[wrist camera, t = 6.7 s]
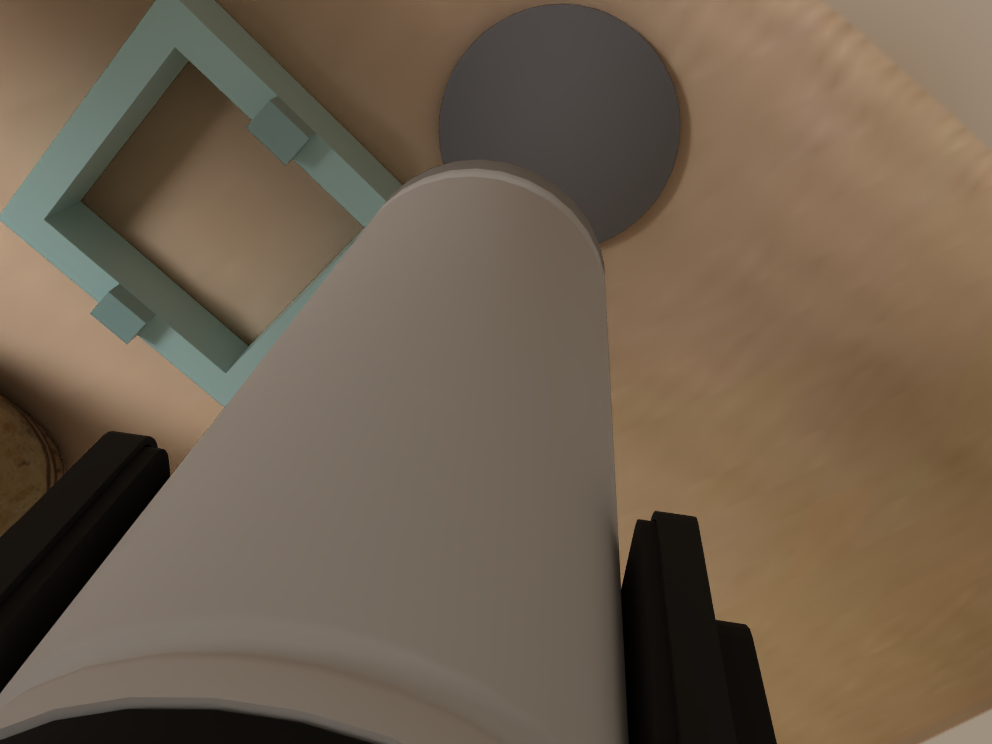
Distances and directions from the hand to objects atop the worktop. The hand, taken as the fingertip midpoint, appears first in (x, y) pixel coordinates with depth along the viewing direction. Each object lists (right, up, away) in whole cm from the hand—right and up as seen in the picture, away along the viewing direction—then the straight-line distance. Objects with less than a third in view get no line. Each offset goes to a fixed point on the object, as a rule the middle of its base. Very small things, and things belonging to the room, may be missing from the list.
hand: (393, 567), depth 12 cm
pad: (+4, +13, +25) cm, 28 cm away
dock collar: (-11, +10, +27) cm, 31 cm away
